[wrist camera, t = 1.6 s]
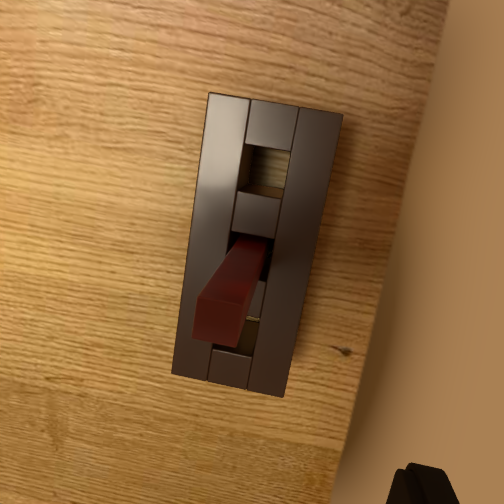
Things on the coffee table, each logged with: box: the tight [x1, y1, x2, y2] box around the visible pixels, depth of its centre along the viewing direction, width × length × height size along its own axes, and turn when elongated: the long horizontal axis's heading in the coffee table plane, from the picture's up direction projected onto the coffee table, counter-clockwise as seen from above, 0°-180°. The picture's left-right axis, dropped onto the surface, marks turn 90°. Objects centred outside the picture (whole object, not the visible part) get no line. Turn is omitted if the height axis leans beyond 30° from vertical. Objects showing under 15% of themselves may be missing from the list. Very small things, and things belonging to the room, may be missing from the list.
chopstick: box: [191, 233, 270, 347], centre depth 21 cm, size 2×2×14 cm
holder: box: [171, 92, 344, 398], centre depth 25 cm, size 7×16×5 cm, turn 170°
